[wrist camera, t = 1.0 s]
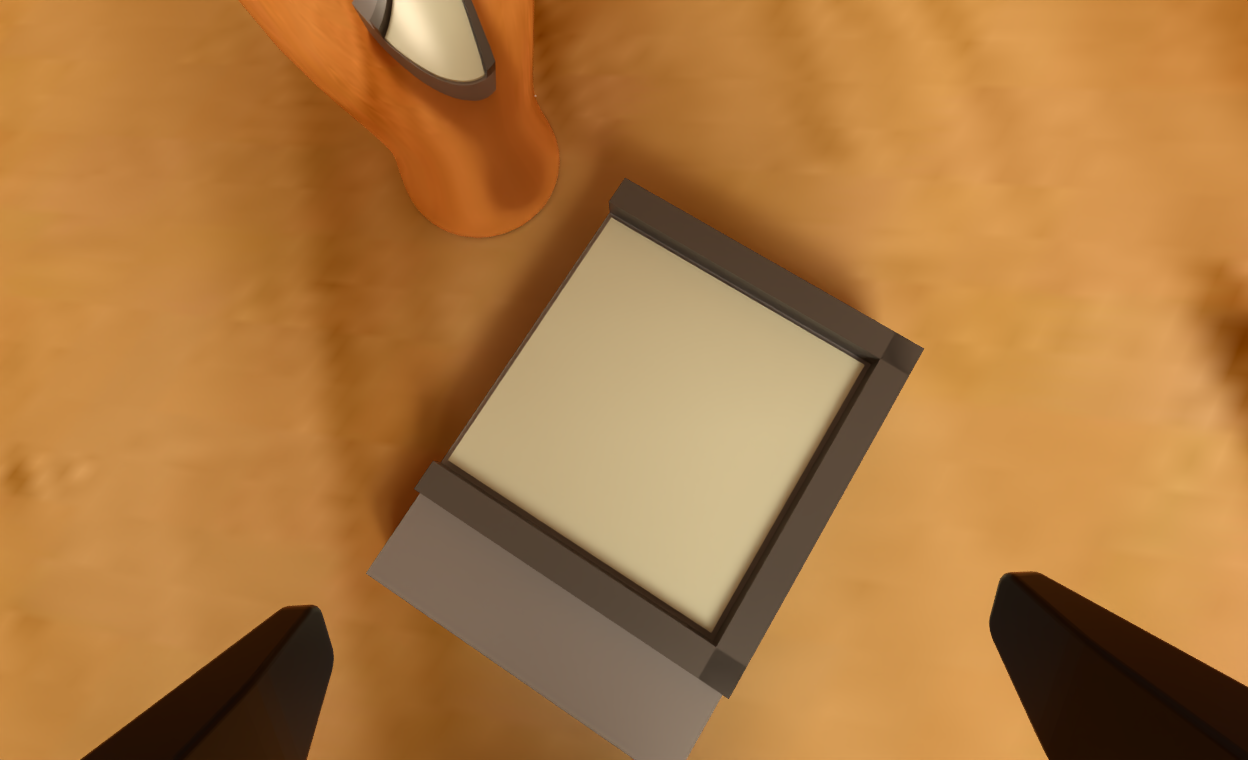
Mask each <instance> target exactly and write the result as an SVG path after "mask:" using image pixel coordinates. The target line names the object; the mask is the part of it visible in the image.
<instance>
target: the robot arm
mask: <svg viewBox="0 0 1248 760" xmlns="http://www.w3.org/2000/svg"><path fill="white" fill-rule="evenodd" d="M989 627H990V632H991V636H992V639H993V641H994V643H995V646H996V648H997V650H998V652H999V654H1000V656H1001V659H1002V661H1003V663H1004V665H1005V667H1006V670H1007V672H1008V674H1009V676H1010V678H1011V681H1012V683H1013V685H1014V687H1015V689H1016V691H1017V694H1018V696H1019V698H1020V700H1021V702H1022V705H1023V707H1024V709H1025V711H1026V713H1027V716H1028V718H1029V720H1030V722H1031V724H1032V727H1033V729H1034V731H1035V733H1036V735H1037V737H1038V739H1039V741H1040V743H1041V745H1042V747H1043V749H1044V751H1045V753H1046V755H1047V757H1048V759H1049V760H1248V687H1247V686H1245V685H1243V684H1241V683H1240V682H1238V681H1236V680H1234V679H1232V678H1231V677H1229V676H1227V675H1225V674H1223V673H1221V672H1220V671H1218V670H1216V669H1214V668H1212V667H1210V666H1209V665H1207V664H1205V663H1203V662H1201V661H1200V660H1198V659H1196V658H1194V657H1192V656H1190V655H1189V654H1187V653H1185V652H1183V651H1181V650H1179V649H1178V648H1176V647H1174V646H1172V645H1170V644H1169V643H1167V642H1165V641H1163V640H1161V639H1159V638H1158V637H1156V636H1154V635H1152V634H1150V633H1149V632H1147V631H1145V630H1143V629H1141V628H1139V627H1138V626H1136V625H1134V624H1132V623H1130V622H1128V621H1127V620H1125V619H1123V618H1121V617H1119V616H1118V615H1116V614H1114V613H1112V612H1110V611H1108V610H1107V609H1105V608H1103V607H1101V606H1099V605H1098V604H1096V603H1094V602H1092V601H1090V600H1088V599H1087V598H1085V597H1083V596H1081V595H1079V594H1077V593H1076V592H1074V591H1072V590H1070V589H1068V588H1067V587H1065V586H1063V585H1061V584H1059V583H1057V582H1056V581H1054V580H1052V579H1050V578H1048V577H1047V576H1045V575H1043V574H1041V573H1038V572H1032V571H1030V572H1010V573H1006V574H1004V575H1003V576H1002V577H1001V578H1000V581H999V584H998V588H997V592H996V596H995V599H994V603H993V607H992V611H991V615H990V620H989ZM333 661H334V655H333V648H332V645H331V641H330V638H329V635H328V631H327V628H326V625H325V622H324V618H323V615H322V612H321V610H320V609H319V608H318V607H317V606H314V605H298V606H287V607H284V608H282V609H280V610H279V611H277V612H276V613H275V614H273V615H272V616H271V617H269V618H268V619H267V620H265V621H264V622H263V623H261V624H260V625H259V626H257V627H256V628H255V629H253V630H252V631H251V632H249V633H248V634H247V635H245V636H244V637H243V638H241V639H240V640H239V641H237V642H236V643H235V644H233V645H232V646H231V647H229V648H228V649H227V650H225V651H224V652H223V653H221V654H220V655H219V656H217V657H216V658H215V659H213V660H212V661H211V662H209V663H208V664H207V665H205V666H204V667H203V668H201V669H200V670H199V671H197V672H196V673H195V674H194V675H192V676H191V677H190V678H188V679H187V680H186V681H184V682H183V683H182V684H180V685H179V686H178V687H176V688H175V689H174V690H172V691H171V692H170V693H168V694H167V695H166V696H164V697H163V698H162V699H160V700H159V701H158V702H156V703H155V704H154V705H152V706H151V707H150V708H148V709H147V710H146V711H144V712H143V713H142V714H140V715H139V716H138V717H136V718H135V719H134V720H132V721H131V722H130V723H128V724H127V725H126V726H124V727H123V728H122V729H120V730H119V731H118V732H116V733H115V734H114V735H112V736H111V737H110V738H108V739H107V740H106V741H105V742H103V743H102V744H101V745H99V746H98V747H97V748H95V749H94V750H93V751H91V752H90V753H89V754H87V755H86V756H85V757H83V758H82V759H81V760H307V756H308V753H309V749H310V746H311V742H312V739H313V735H314V732H315V728H316V725H317V721H318V718H319V714H320V711H321V707H322V704H323V700H324V697H325V693H326V690H327V686H328V683H329V679H330V676H331V672H332V668H333Z"/></svg>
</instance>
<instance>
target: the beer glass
mask: <svg viewBox="0 0 1248 760" xmlns="http://www.w3.org/2000/svg"><path fill="white" fill-rule="evenodd" d="M238 1H239V2H240V3H241V4H242V5H243V7H244V8H245V9H246V10H247V11H248V13H249V14H250V15H251V16H252V17H253V19H254V20H255V21H256V22H257V23H258V24H259V26H260V27H261V28H262V29H263V30H264V32H265V33H266V34H267V35H268V36H269V38H270V39H271V40H272V41H273V42H274V44H275V45H276V46H277V47H278V48H279V49H280V50H281V51H282V52H283V53H284V54H285V55H286V56H287V57H288V58H289V59H290V60H291V61H292V62H293V63H294V64H295V65H296V66H297V67H298V68H299V69H300V70H301V71H302V72H303V73H304V74H305V75H306V76H307V77H308V78H309V79H310V80H311V81H312V82H313V83H314V84H315V85H316V86H318V87H319V88H320V89H321V90H322V91H323V92H324V93H325V94H327V95H328V96H329V97H330V98H331V99H332V100H333V101H335V102H336V103H337V104H338V105H339V106H340V107H341V108H343V109H344V110H345V111H346V112H347V113H348V114H350V115H351V116H352V117H353V118H354V119H355V120H357V121H358V122H359V123H360V124H361V125H363V126H364V127H365V128H366V129H367V130H368V131H370V132H371V133H372V134H373V135H374V136H375V137H376V138H378V139H379V140H380V141H381V142H382V143H383V144H384V145H385V146H386V147H387V148H388V149H389V150H390V152H391V153H392V154H393V156H394V157H395V160H396V162H397V165H398V169H399V172H400V175H401V178H402V181H403V183H404V186H405V188H406V191H407V193H408V195H409V197H410V199H411V200H412V202H413V204H414V205H415V207H416V208H417V209H418V210H419V212H420V213H421V214H422V215H423V216H424V217H425V218H427V219H428V220H429V221H430V222H431V223H433V224H434V225H436V226H438V227H439V228H441V229H443V230H445V231H447V232H450V233H453V234H456V235H460V236H465V237H475V238H481V237H492V236H497V235H501V234H504V233H507V232H510V231H512V230H514V229H516V228H518V227H520V226H522V225H523V224H525V223H526V222H528V221H529V220H531V219H532V218H533V217H534V216H535V215H536V214H537V213H538V212H539V211H540V210H541V209H542V208H543V207H544V205H545V204H546V203H547V201H548V200H549V198H550V196H551V194H552V192H553V190H554V188H555V185H556V182H557V178H558V173H559V165H560V157H559V149H558V145H557V141H556V138H555V135H554V133H553V131H552V128H551V126H550V125H549V123H548V121H547V119H546V118H545V116H544V114H543V113H542V111H541V109H540V107H539V105H538V103H537V101H536V95H535V94H534V87H533V49H534V0H238Z"/></svg>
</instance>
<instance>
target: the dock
mask: <svg viewBox="0 0 1248 760" xmlns="http://www.w3.org/2000/svg"><path fill="white" fill-rule="evenodd" d="M609 209H610V213H609V214H608V216H607V217H606V219H605V220H604V222H603V223H602V225H601V226H600V228H599V229H598V231H597V232H596V234H595V235H594V237H593V238H592V240H591V241H590V243H589V244H588V246H587V247H586V248H585V250H584V251H583V253H582V254H581V256H580V257H579V259H578V260H577V262H576V263H575V265H574V266H573V268H572V269H571V271H570V272H569V274H568V275H567V277H566V278H565V280H564V281H563V283H562V284H561V285H560V287H559V288H558V290H557V291H556V293H555V294H554V296H553V297H552V299H551V300H550V302H549V303H548V305H547V306H546V308H545V309H544V311H543V312H542V314H541V315H540V317H539V318H538V319H537V321H536V322H535V324H534V325H533V327H532V328H531V330H530V331H529V333H528V334H527V336H526V337H525V339H524V340H523V342H522V343H521V345H520V346H519V348H518V349H517V351H516V352H515V354H514V355H513V356H512V358H511V359H510V361H509V362H508V364H507V365H506V367H505V368H504V370H503V371H502V373H501V374H500V376H499V377H498V379H497V380H496V382H495V383H494V385H493V386H492V388H491V389H490V391H489V392H488V393H487V395H486V396H485V398H484V399H483V401H482V402H481V404H480V405H479V407H478V408H477V410H476V411H475V413H474V414H473V416H472V417H471V419H470V420H469V422H468V423H467V425H466V426H465V428H464V429H463V430H462V432H461V433H460V435H459V436H458V438H457V439H456V441H455V442H454V444H453V445H452V447H451V448H450V450H449V451H448V453H447V454H446V456H445V457H444V459H443V460H442V462H436V461H433V462H432V463H431V465H430V466H429V468H428V469H427V470H426V472H425V473H424V475H423V476H422V478H421V479H420V481H419V482H418V484H417V485H416V487H415V488H414V489H415V490H416V491H418V492H419V493H420V494H419V496H418V497H417V499H416V500H415V502H414V503H413V504H412V506H411V507H410V509H409V510H408V512H407V513H406V515H405V516H404V518H403V519H402V521H401V522H400V524H399V525H398V527H397V528H396V530H395V531H394V533H393V534H392V536H391V537H390V538H389V540H388V541H387V543H386V544H385V546H384V547H383V549H382V550H381V552H380V553H379V555H378V556H377V558H376V559H375V561H374V562H373V564H372V565H371V567H370V568H369V570H368V571H367V573H366V574H368V575H369V576H370V577H372V578H373V579H375V580H376V581H378V582H379V583H380V584H382V585H383V586H385V587H386V588H388V589H389V590H391V591H392V592H393V593H395V594H396V595H398V596H399V597H401V598H402V599H404V600H405V601H406V602H408V603H409V604H411V605H412V606H414V607H415V608H417V609H418V610H419V611H421V612H422V613H424V614H425V615H427V616H428V617H430V618H431V619H432V620H434V621H435V622H437V623H438V624H440V625H441V626H443V627H444V628H445V629H447V630H448V631H450V632H451V633H453V634H454V635H456V636H457V637H458V638H460V639H461V640H463V641H464V642H466V643H467V644H468V645H470V646H471V647H473V648H474V649H476V650H477V651H479V652H480V653H481V654H483V655H484V656H486V657H487V658H489V659H490V660H492V661H493V662H494V663H496V664H497V665H499V666H500V667H502V668H503V669H505V670H506V671H507V672H509V673H510V674H512V675H513V676H515V677H516V678H518V679H519V680H520V681H522V682H523V683H525V684H526V685H528V686H529V687H531V688H532V689H533V690H535V691H536V692H538V693H539V694H541V695H542V696H544V697H545V698H546V699H548V700H549V701H551V702H552V703H554V704H555V705H556V706H558V707H559V708H561V709H562V710H564V711H565V712H567V713H568V714H569V715H571V716H572V717H574V718H575V719H577V720H578V721H580V722H581V723H582V724H584V725H585V726H587V727H588V728H590V729H591V730H593V731H594V732H595V733H597V734H598V735H600V736H601V737H603V738H604V739H606V740H607V741H608V742H610V743H611V744H613V745H614V746H616V747H617V748H619V749H620V750H621V751H623V752H624V753H626V754H627V755H629V756H630V757H632V758H633V759H634V760H686V759H687V757H688V756H689V754H690V752H691V750H692V748H693V747H694V745H695V743H696V741H697V739H698V738H699V736H700V734H701V732H702V731H703V729H704V727H705V725H706V723H707V722H708V720H709V718H710V716H711V714H712V713H713V711H714V709H715V707H716V706H717V704H718V702H719V700H720V698H721V697H722V695H723V696H725V697H726V698H728V699H729V698H730V696H731V694H732V692H733V690H734V689H735V687H736V685H737V683H738V681H739V680H740V678H741V676H742V674H743V672H744V671H745V669H746V667H747V665H748V664H749V662H750V660H751V658H752V656H753V655H754V653H755V651H756V649H757V647H758V646H759V644H760V642H761V640H762V638H763V637H764V635H765V633H766V631H767V629H768V628H769V626H770V624H771V622H772V621H773V619H774V617H775V615H776V613H777V612H778V610H779V608H780V606H781V604H782V603H783V601H784V599H785V597H786V595H787V594H788V592H789V590H790V588H791V586H792V585H793V583H794V581H795V579H796V577H797V576H798V574H799V572H800V570H801V569H802V567H803V565H804V563H805V561H806V560H807V558H808V556H809V554H810V552H811V551H812V549H813V547H814V545H815V543H816V542H817V540H818V538H819V536H820V534H821V533H822V531H823V529H824V527H825V526H826V524H827V522H828V520H829V518H830V517H831V515H832V513H833V511H834V509H835V508H836V506H837V504H838V502H839V500H840V499H841V497H842V495H843V493H844V491H845V490H846V488H847V486H848V484H849V482H850V481H851V479H852V477H853V475H854V474H855V472H856V470H857V468H858V466H859V465H860V463H861V461H862V459H863V457H864V456H865V454H866V452H867V450H868V448H869V447H870V445H871V443H872V441H873V439H874V438H875V436H876V434H877V432H878V431H879V429H880V427H881V425H882V423H883V422H884V420H885V418H886V416H887V414H888V413H889V411H890V409H891V407H892V405H893V404H894V402H895V400H896V398H897V396H898V395H899V393H900V391H901V389H902V388H903V386H904V384H905V382H906V380H907V379H908V377H909V375H910V373H911V371H912V370H913V368H914V366H915V364H916V362H917V361H918V359H919V357H920V355H921V353H922V352H923V350H924V348H922V347H920V346H919V345H917V344H915V343H913V342H912V341H910V340H908V339H906V338H905V337H903V336H901V335H899V334H898V333H896V332H894V331H892V330H891V329H889V328H887V327H885V326H884V325H882V324H880V323H878V322H877V321H875V320H873V319H871V318H870V317H868V316H866V315H864V314H863V313H861V312H859V311H857V310H856V309H854V308H852V307H850V306H849V305H847V304H845V303H843V302H842V301H840V300H838V299H836V298H835V297H833V296H831V295H829V294H828V293H826V292H824V291H822V290H821V289H819V288H817V287H815V286H814V285H812V284H810V283H808V282H807V281H805V280H803V279H801V278H800V277H798V276H796V275H794V274H793V273H791V272H789V271H787V270H786V269H784V268H782V267H780V266H779V265H777V264H775V263H773V262H772V261H770V260H768V259H766V258H765V257H763V256H761V255H759V254H758V253H756V252H754V251H752V250H751V249H749V248H747V247H745V246H744V245H742V244H740V243H738V242H737V241H735V240H733V239H731V238H730V237H728V236H726V235H724V234H723V233H721V232H719V231H717V230H716V229H714V228H712V227H710V226H709V225H707V224H705V223H703V222H702V221H700V220H698V219H696V218H695V217H693V216H691V215H689V214H688V213H686V212H684V211H682V210H681V209H679V208H677V207H675V206H674V205H672V204H670V203H668V202H667V201H665V200H663V199H661V198H660V197H658V196H656V195H654V194H653V193H651V192H649V191H647V190H646V189H644V188H642V187H640V186H639V185H637V184H635V183H633V182H632V181H630V180H628V179H626V178H625V179H624V180H623V182H622V183H621V184H620V186H619V187H618V189H617V190H616V192H615V193H614V195H613V196H612V198H611V199H610V201H609Z"/></svg>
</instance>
